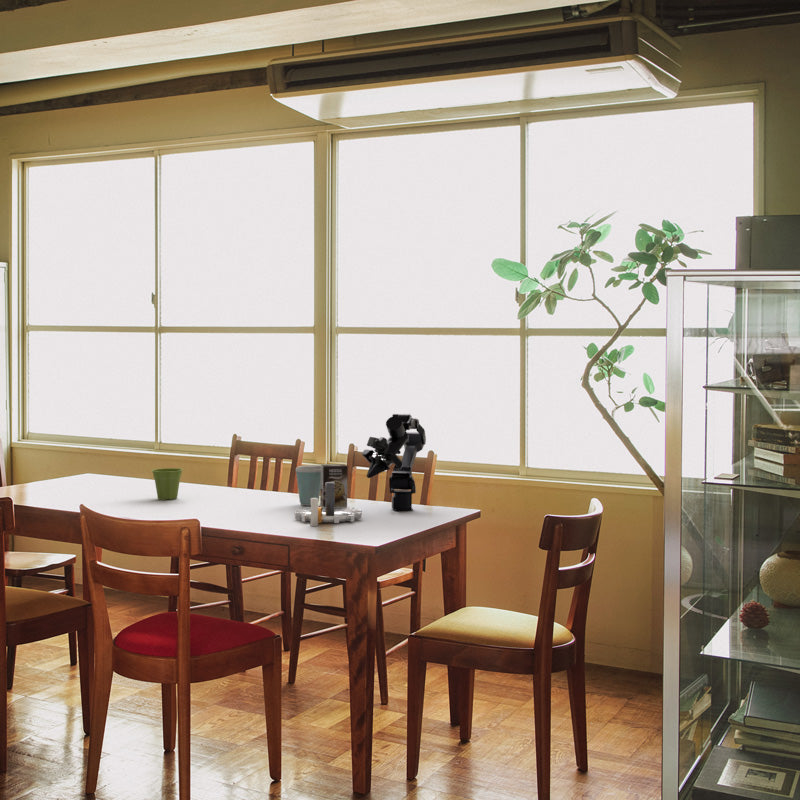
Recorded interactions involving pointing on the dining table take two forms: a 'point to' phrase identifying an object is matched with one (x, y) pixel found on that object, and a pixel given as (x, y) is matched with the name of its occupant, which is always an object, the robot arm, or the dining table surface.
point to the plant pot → (167, 482)
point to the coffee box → (340, 477)
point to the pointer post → (314, 511)
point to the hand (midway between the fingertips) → (367, 477)
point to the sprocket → (330, 510)
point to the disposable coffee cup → (308, 483)
